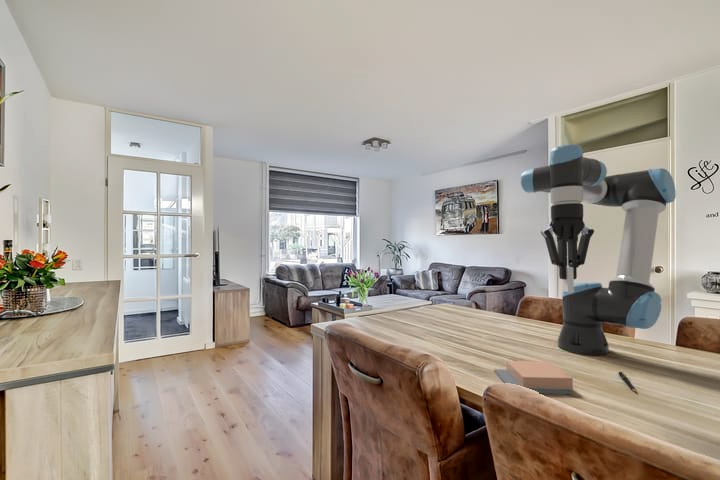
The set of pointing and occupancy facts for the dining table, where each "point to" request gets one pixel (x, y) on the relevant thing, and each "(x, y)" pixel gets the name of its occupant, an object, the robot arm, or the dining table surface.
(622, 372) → the fountain pen
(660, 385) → the dining table surface
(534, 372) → the glazed tile
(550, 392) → the mat
